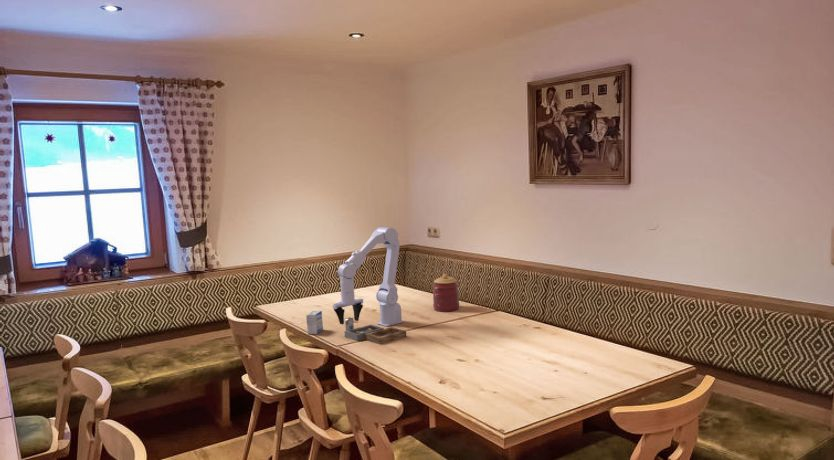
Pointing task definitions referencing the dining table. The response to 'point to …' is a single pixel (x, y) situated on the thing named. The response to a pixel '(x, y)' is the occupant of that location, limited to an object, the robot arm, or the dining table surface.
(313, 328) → the medicine box
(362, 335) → the grey tray with pegs
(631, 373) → the dining table surface
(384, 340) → the shallow wooden tray
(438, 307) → the canister
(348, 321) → the cell
